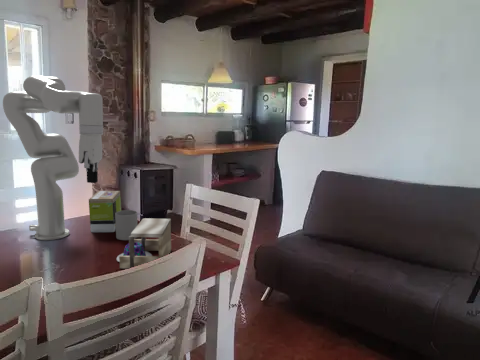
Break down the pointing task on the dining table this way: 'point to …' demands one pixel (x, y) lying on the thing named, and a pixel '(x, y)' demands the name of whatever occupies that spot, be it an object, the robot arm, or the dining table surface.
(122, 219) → the cup
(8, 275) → the dining table surface
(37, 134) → the robot arm
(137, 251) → the pudding
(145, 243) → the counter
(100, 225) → the tea box
